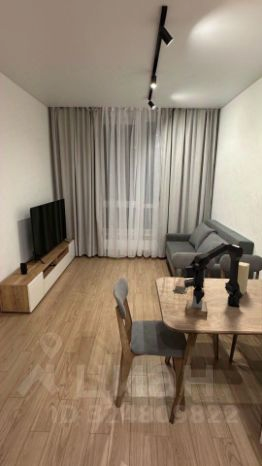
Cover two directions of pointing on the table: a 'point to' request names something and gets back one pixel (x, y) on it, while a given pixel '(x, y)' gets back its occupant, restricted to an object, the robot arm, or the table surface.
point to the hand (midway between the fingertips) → (197, 300)
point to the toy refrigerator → (243, 276)
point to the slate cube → (196, 303)
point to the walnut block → (196, 309)
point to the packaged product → (180, 286)
